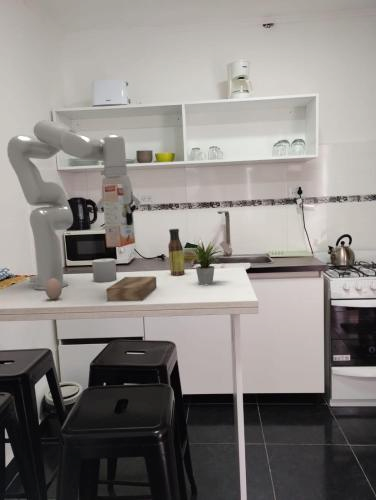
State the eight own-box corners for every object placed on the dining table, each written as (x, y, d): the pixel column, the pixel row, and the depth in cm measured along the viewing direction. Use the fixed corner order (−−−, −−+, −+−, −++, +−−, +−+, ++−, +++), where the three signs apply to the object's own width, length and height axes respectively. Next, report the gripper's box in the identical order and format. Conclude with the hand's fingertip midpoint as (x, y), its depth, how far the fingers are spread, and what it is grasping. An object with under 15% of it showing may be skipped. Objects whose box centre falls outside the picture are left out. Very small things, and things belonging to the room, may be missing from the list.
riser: (107, 301, 135) (106, 288, 135) (125, 287, 155) (124, 276, 154) (142, 300, 133) (141, 287, 133) (156, 287, 153) (156, 276, 153)
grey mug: (107, 276, 182) (106, 257, 181) (119, 280, 171) (118, 259, 170) (87, 279, 177) (86, 259, 176) (99, 283, 166) (97, 262, 165)
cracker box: (123, 247, 136) (117, 183, 134) (105, 248, 137) (100, 184, 135) (136, 242, 150) (131, 184, 148) (120, 243, 151) (116, 186, 149)
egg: (43, 300, 141) (41, 279, 140) (55, 297, 145) (54, 276, 144) (53, 302, 138) (51, 280, 137) (65, 298, 142) (64, 277, 141)
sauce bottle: (187, 273, 179) (185, 228, 177) (179, 276, 174) (177, 229, 171) (175, 272, 182) (172, 228, 180) (167, 275, 177) (164, 229, 175)
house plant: (219, 288, 146) (217, 242, 144) (182, 287, 151) (180, 243, 149) (228, 280, 159) (227, 238, 158) (194, 280, 164) (192, 239, 162)
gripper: (87, 174, 139) (92, 227, 141) (137, 170, 136) (141, 224, 138) (96, 175, 146) (100, 226, 148) (143, 171, 143) (147, 223, 145)
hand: (120, 225), depth 143 cm, fingers closed on cracker box, 6 cm apart
